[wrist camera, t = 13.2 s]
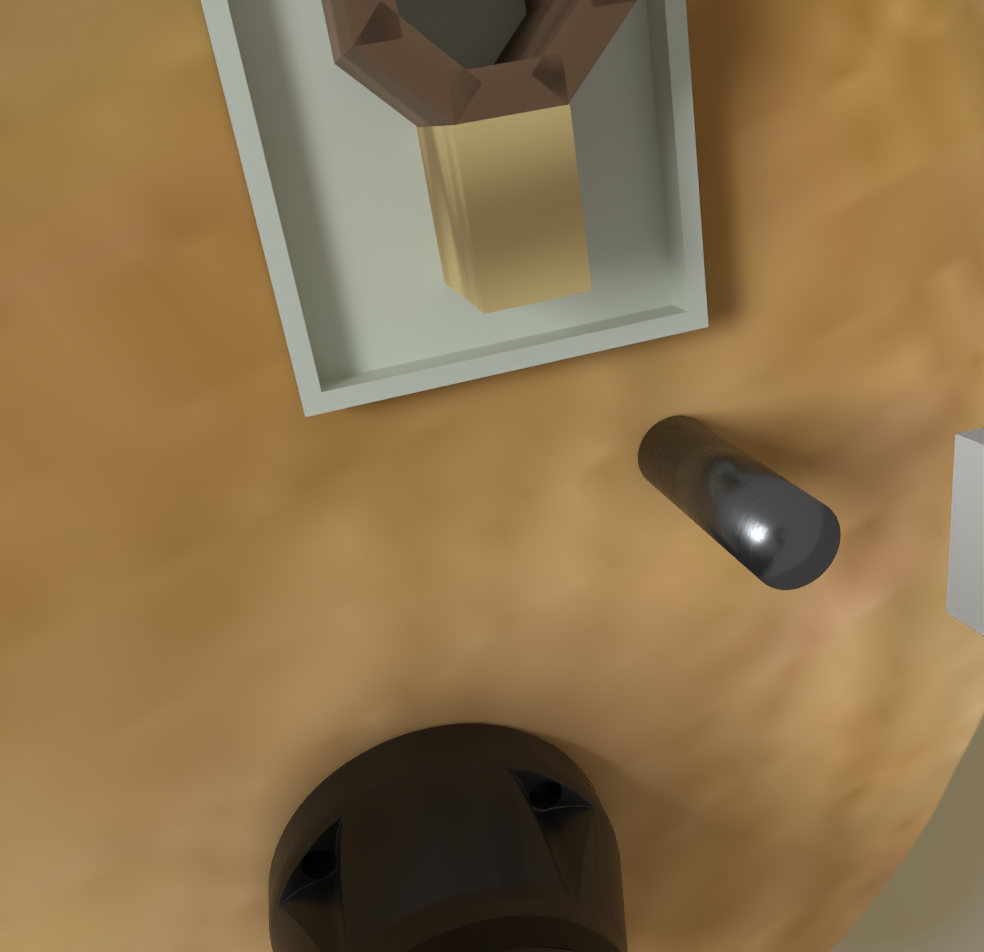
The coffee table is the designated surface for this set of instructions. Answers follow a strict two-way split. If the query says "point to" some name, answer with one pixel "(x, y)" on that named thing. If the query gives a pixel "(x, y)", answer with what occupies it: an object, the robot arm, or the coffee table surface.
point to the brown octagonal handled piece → (491, 139)
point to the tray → (407, 212)
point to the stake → (741, 503)
